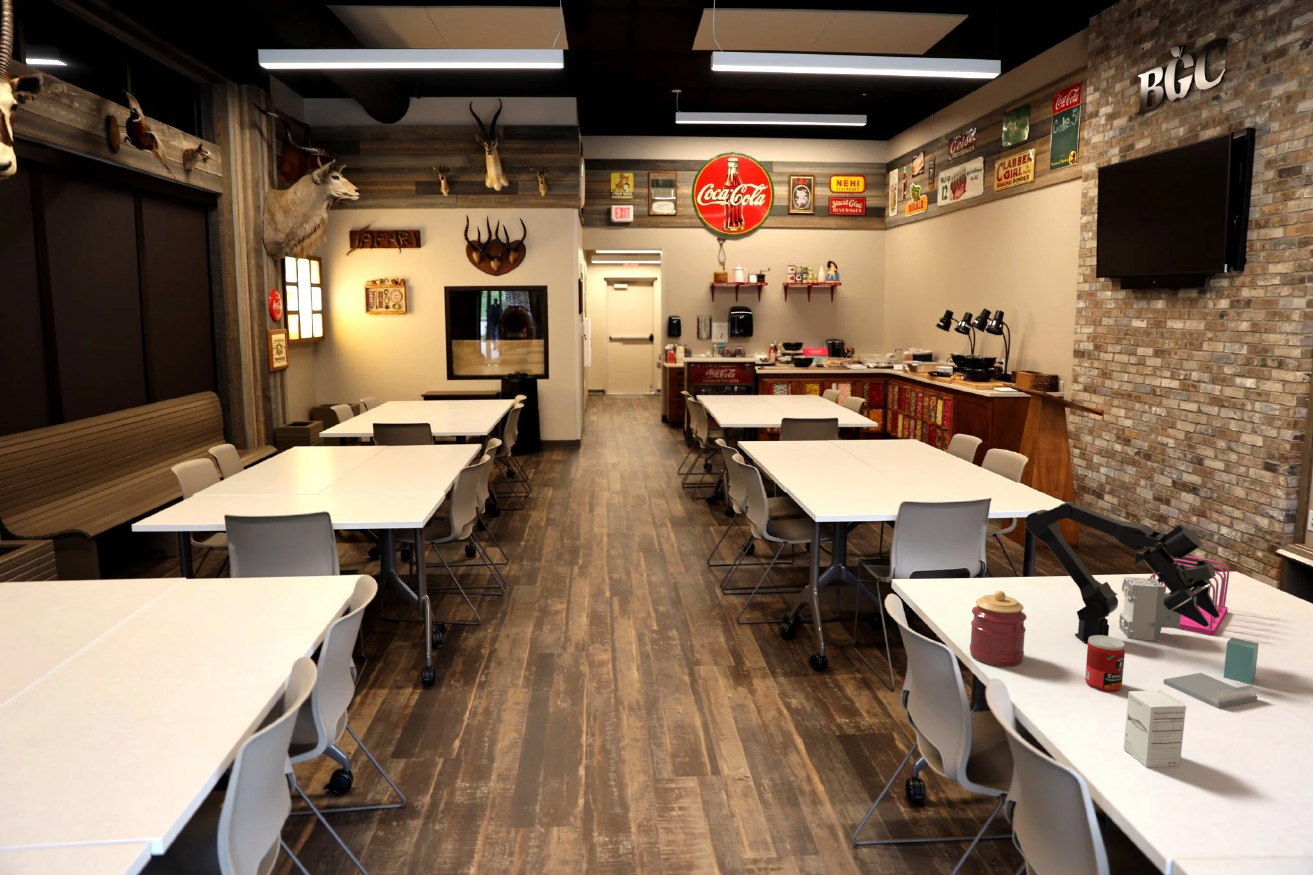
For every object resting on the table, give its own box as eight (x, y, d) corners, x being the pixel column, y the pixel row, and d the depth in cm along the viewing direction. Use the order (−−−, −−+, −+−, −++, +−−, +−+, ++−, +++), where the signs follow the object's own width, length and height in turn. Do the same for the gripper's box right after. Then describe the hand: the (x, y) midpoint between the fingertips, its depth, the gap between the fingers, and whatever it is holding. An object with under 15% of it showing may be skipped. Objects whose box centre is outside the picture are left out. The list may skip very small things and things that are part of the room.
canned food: (1108, 695, 200) (1111, 649, 198) (1077, 682, 207) (1080, 638, 205) (1129, 688, 203) (1133, 643, 202) (1098, 676, 210) (1101, 632, 209)
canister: (977, 644, 231) (980, 580, 228) (1028, 655, 223) (1033, 589, 221) (963, 659, 220) (966, 592, 218) (1016, 671, 213) (1021, 602, 210)
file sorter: (1227, 612, 256) (1232, 561, 253) (1213, 636, 237) (1219, 581, 235) (1160, 600, 267) (1165, 550, 265) (1142, 622, 248) (1146, 569, 246)
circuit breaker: (1185, 642, 232) (1190, 588, 230) (1127, 638, 235) (1131, 584, 233) (1174, 632, 239) (1179, 580, 237) (1118, 628, 242) (1122, 576, 240)
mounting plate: (1163, 683, 206) (1164, 671, 206) (1200, 676, 210) (1201, 664, 210) (1218, 708, 193) (1219, 695, 193) (1256, 700, 197) (1258, 688, 197)
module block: (1223, 677, 210) (1227, 641, 209) (1228, 672, 213) (1231, 637, 212) (1250, 684, 206) (1254, 648, 205) (1254, 679, 209) (1258, 643, 208)
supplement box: (1122, 749, 175) (1127, 690, 173) (1156, 747, 176) (1162, 688, 174) (1145, 768, 168) (1150, 706, 166) (1181, 766, 168) (1187, 705, 167)
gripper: (1182, 558, 207) (1231, 613, 201) (1204, 543, 220) (1252, 595, 214) (1143, 582, 214) (1190, 637, 208) (1167, 567, 227) (1212, 618, 221)
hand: (1212, 621), depth 212 cm, fingers open, 9 cm apart
